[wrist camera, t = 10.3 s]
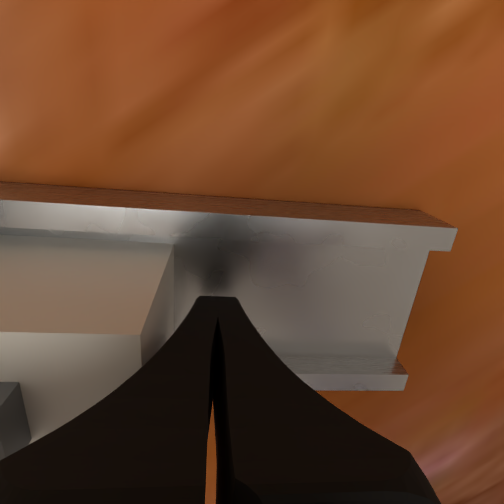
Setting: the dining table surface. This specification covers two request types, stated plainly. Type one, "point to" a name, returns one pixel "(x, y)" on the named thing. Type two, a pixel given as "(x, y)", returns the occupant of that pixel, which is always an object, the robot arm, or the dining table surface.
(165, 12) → the dining table surface
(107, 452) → the robot arm
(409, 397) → the dining table surface
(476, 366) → the dining table surface
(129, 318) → the module
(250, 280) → the rail
